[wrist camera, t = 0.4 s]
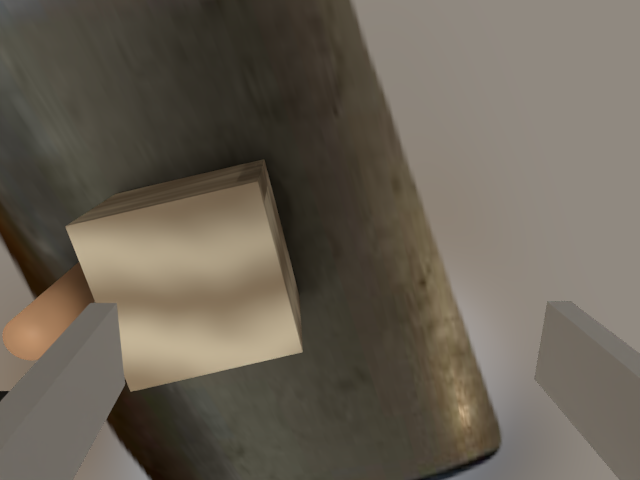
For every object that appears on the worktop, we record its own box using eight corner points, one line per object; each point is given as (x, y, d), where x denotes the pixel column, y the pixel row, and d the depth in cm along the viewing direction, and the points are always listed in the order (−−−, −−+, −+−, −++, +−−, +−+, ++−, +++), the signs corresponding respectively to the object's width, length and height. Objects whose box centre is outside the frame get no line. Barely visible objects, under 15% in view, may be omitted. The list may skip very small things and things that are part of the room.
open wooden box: (115, 193, 40) (65, 226, 31) (264, 159, 40) (257, 181, 31) (163, 327, 43) (130, 391, 34) (299, 295, 43) (302, 351, 34)
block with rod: (62, 244, 41) (-16, 300, 30) (243, 202, 41) (228, 244, 30) (88, 310, 42) (23, 385, 32) (262, 270, 42) (254, 331, 32)
